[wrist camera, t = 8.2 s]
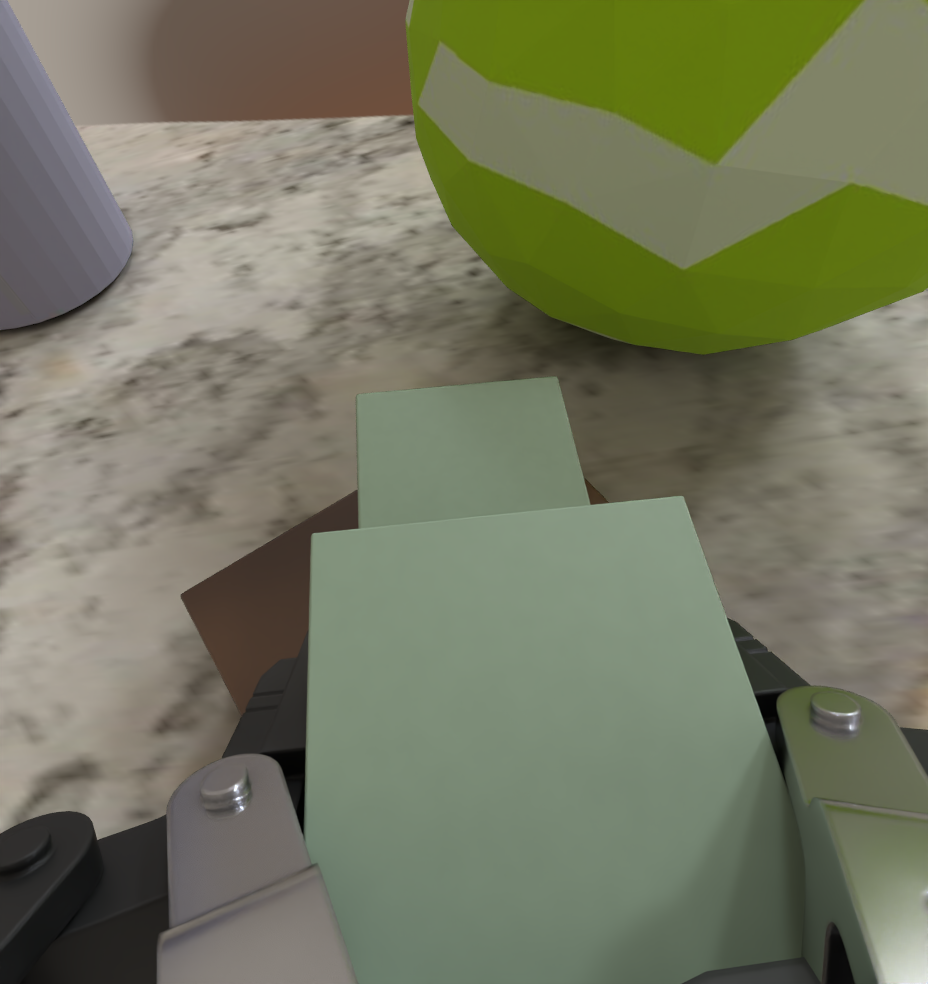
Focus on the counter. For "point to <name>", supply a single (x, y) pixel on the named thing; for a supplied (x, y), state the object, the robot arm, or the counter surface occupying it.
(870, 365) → the counter surface
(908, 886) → the robot arm
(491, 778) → the sage green stepped block
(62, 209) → the container
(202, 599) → the shoe shelf
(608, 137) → the melon
